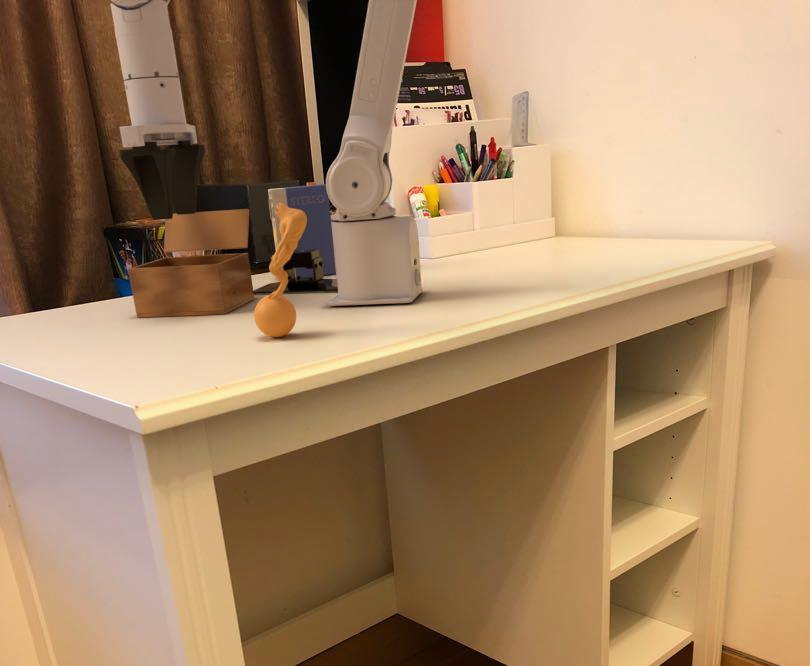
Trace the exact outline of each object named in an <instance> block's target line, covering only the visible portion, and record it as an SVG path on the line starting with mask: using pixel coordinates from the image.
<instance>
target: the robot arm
mask: <svg viewBox="0 0 810 666" xmlns="http://www.w3.org/2000/svg"><path fill="white" fill-rule="evenodd" d="M110 1H111V3H110V9H111V16H112V21H113V26H114V27H113V28H114V35H115V39H116V40H115V41H116V46H117V51H118V56H119V57H118V58H119V63H120V68H121V73H122V80H123V85H124V90H125V95H126V100H127V106H128V111H129V118H130V123H131V125H128V126H127V125H124V126H119V132H120V137H121V138H120V139H121V144H122V148H125V149H119V150H118V155H119V158H120V161H121V162H122V163H123V164H124V165H125V167H126V169H128V171H129V173H130V174H131V176H132V177H133V179H134V181H135V183H136V184H137V187H138V189H139V191H140V193H141V196H142V198H143V201H144V203H145V205H146V208H147V210H148V213H149V215H150V217H151V219H152V221H160V220H161V221H162V220H166V219H172V218H173V214H174V211H175V214H177V215H182V214H195V213H196V212H197V202H198V201H197V199H198V186H199V185H198V184H199V176H200V170H201V166H202V162H203V159H204V156H205V154H206V149H205V144H198V138H197V137H198V136H197V131H196V126H195V125H194V124H193V125H192V124H189V123H187V118H186V113H185V112H186V111H185V106H184V105H185V104H184V99H183V93H182V87H181V82H180V75H179V69H178V62H177V56H176V50H175V43H174V39H173V30H172V27H171V23H170V16H169V10H168V5H169V3H170V1H171V0H110ZM417 2H418V0H368V3H367V11H366V17H365V22H364V27H363V33H362V39H361V45H360V51H359V57H358V61H357V68H356V74H355V80H354V86H353V92H352V98H351V104H350V108H349V115H348V119H347V123H346V125H345V128H344V132H343V134H342V139H341V143H340V144H341V145H340V148H339V152H338V154H337V156H336V158H335V159H334V160H333V162H332V163H331V165H330V166H329V168H328V171H327V173H326V177H325V185H326V190H327V194H328V197H329V202H330V203H331V204H332V206H334V208H335V212H334V213H333V214H330V217H331V227H332V236H333V246H334V256H335V266H336V274H335V275H336V279H337V285H338V292H337V293H338V295H336V296H335V297H334V298H333V297H332V299H330V300H329V301H328V302H327V304H328V306H329V307H337V306H339V307H341V306H361V305H363V306H365V305H386V304H387V305H388V304H389V305H390V304H391V305H392V304H409V303H413V302H414V300H415V299H416V298H417V297H418V296H419V295H420V294H421V293H422V292H423V287H422V273H421V272H422V271H421V258H420V241H419V232H418V231H419V230H418V225H417V220H416V218H415V217H414V216H412V215H403V216H398V215H396V214H397V211H396V208H395V207H393V206H392V205H391V204H390V203H389V202H388V201H387V200H388V198H389V196H390V194H391V191H392V188H393V174H392V170H391V167H390V153H391V148H392V139H393V127H394V121H395V116H396V110H397V106H398V101H399V96H400V91H401V84H402V80H403V76H404V75H403V74H404V69H405V64H406V59H407V53H408V49H409V44H410V43H409V42H410V38H411V32H412V27H413V23H414V18H415V12H416V6H417ZM153 139H155V140H153ZM161 146H166V147H165V148H162V149H161ZM127 148H128V149H127Z"/></svg>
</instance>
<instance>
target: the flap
mask: <svg viewBox="0 0 810 666" xmlns="http://www.w3.org/2000/svg"><path fill="white" fill-rule="evenodd" d="M249 221H250V209H249V208H240V209H226V210H225V209H224V210H212V211H211V210H209V211H196V213H195V214H182V215H177V213H173V218H172V219H165V225H164V227H165V228H164V242H163V243H164V245H163V252H164V253H180V252H181V253H183V252H201V251H217V250H234V249H235V250H236V249H248V247H249V246H248V245H249V225H250V224H249V223H250V222H249Z"/></svg>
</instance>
